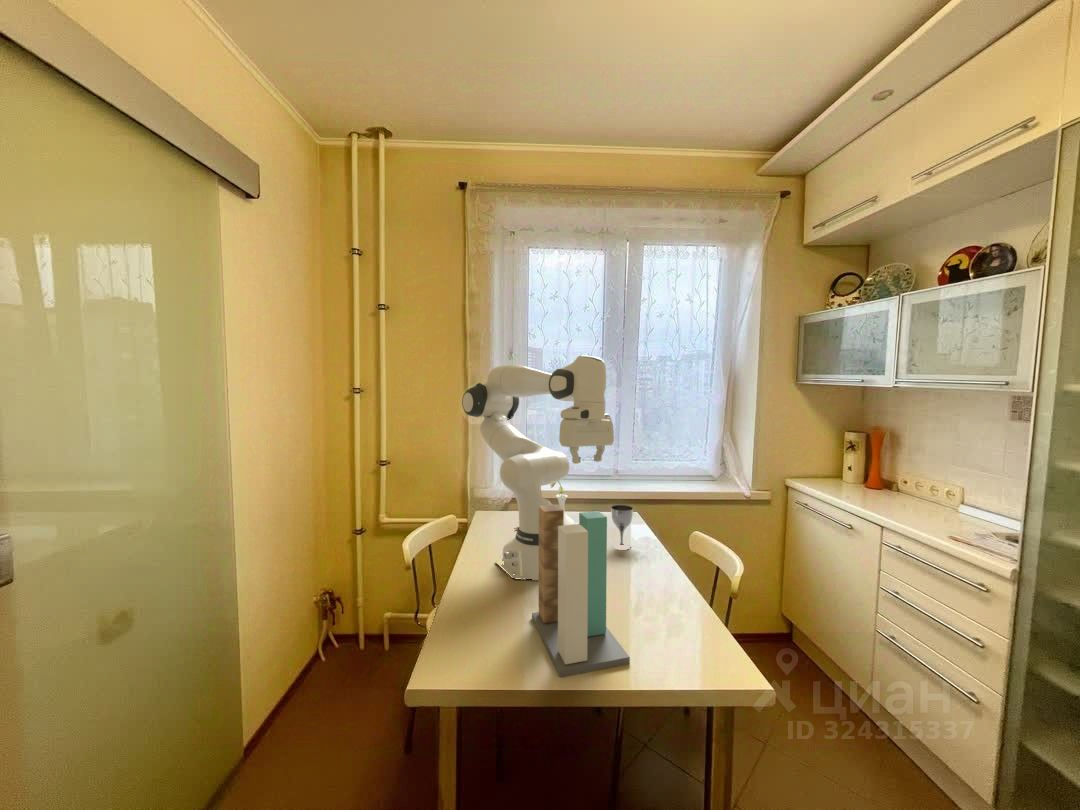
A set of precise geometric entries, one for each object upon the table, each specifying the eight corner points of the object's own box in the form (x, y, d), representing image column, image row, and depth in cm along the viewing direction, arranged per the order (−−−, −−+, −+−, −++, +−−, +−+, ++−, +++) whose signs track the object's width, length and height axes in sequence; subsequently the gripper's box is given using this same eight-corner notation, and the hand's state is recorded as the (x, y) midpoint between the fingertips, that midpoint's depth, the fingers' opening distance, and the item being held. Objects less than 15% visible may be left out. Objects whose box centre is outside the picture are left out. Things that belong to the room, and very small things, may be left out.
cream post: (578, 646, 95) (579, 524, 94) (587, 660, 90) (588, 531, 89) (557, 650, 94) (558, 526, 93) (565, 664, 89) (565, 533, 88)
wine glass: (636, 548, 158) (637, 508, 157) (620, 552, 154) (620, 511, 153) (622, 541, 165) (623, 503, 164) (606, 545, 161) (606, 506, 160)
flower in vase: (553, 522, 188) (553, 466, 187) (578, 525, 184) (578, 468, 183) (543, 531, 176) (543, 471, 175) (569, 535, 172) (569, 474, 171)
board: (589, 609, 114) (589, 604, 114) (629, 663, 92) (629, 657, 92) (532, 618, 110) (532, 613, 110) (559, 677, 88) (559, 670, 88)
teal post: (597, 622, 105) (598, 511, 104) (606, 633, 100) (606, 517, 99) (578, 625, 104) (579, 512, 102) (586, 636, 99) (587, 518, 98)
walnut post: (557, 610, 111) (557, 504, 109) (563, 620, 106) (563, 510, 105) (538, 613, 109) (538, 506, 108) (544, 623, 104) (544, 511, 103)
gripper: (602, 413, 128) (600, 459, 128) (556, 411, 114) (554, 463, 113) (619, 414, 124) (618, 461, 123) (574, 412, 109) (572, 465, 109)
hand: (587, 462), depth 118 cm, fingers open, 8 cm apart
